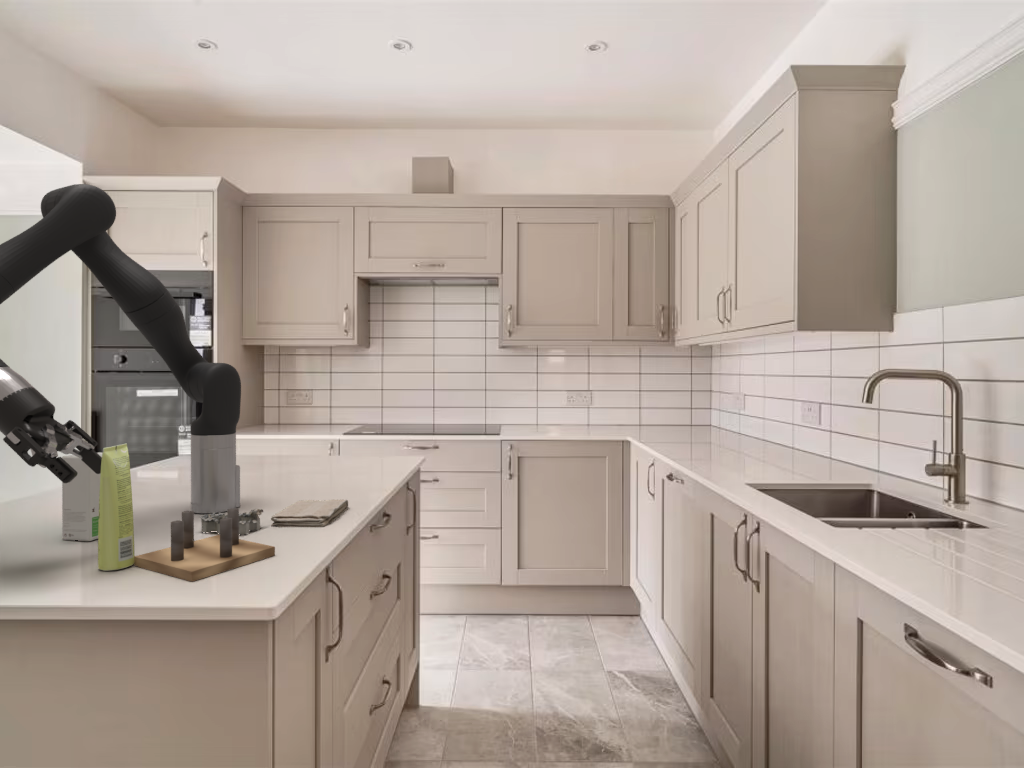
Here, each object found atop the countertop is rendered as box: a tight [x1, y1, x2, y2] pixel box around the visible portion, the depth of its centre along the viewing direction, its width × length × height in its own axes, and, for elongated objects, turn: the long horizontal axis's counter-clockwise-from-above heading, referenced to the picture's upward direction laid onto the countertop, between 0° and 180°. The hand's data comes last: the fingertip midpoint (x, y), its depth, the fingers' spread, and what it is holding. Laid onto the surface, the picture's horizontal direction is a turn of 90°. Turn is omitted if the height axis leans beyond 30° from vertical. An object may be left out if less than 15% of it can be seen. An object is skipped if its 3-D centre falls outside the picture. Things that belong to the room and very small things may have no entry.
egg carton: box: [198, 508, 264, 535], centre depth 120 cm, size 11×8×4 cm
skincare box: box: [61, 451, 103, 542], centre depth 115 cm, size 8×7×16 cm
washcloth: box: [270, 499, 349, 528], centre depth 131 cm, size 12×18×3 cm, turn 1°
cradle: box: [133, 507, 276, 582], centre depth 100 cm, size 15×15×8 cm
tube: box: [97, 443, 136, 572], centre depth 97 cm, size 6×5×20 cm
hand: (88, 474), depth 96 cm, fingers open, 8 cm apart
